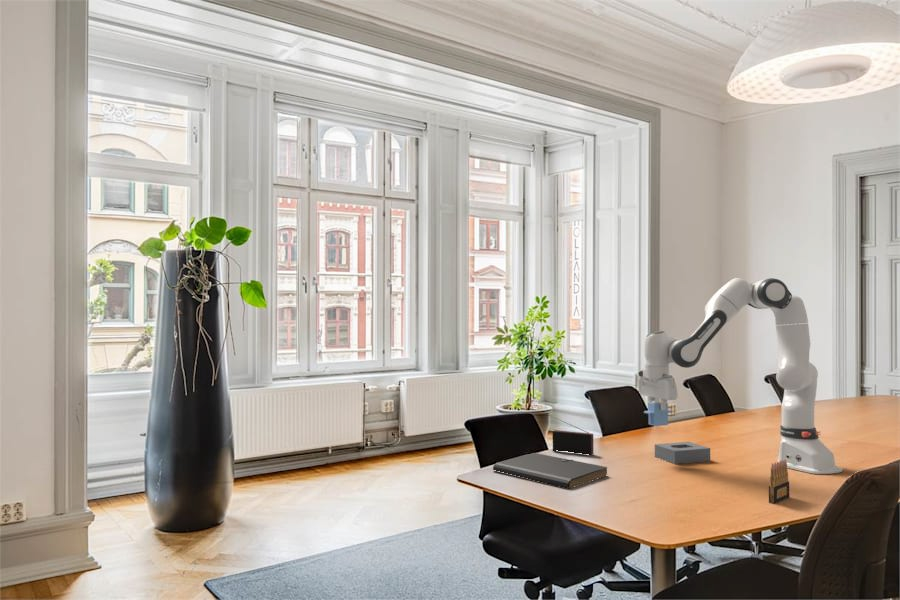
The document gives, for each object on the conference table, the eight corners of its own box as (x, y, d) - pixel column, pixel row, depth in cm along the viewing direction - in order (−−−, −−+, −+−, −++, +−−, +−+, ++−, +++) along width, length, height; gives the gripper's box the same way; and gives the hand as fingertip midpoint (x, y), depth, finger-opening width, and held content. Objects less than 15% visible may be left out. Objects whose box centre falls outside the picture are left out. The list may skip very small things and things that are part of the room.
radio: (593, 454, 270) (593, 417, 270) (591, 456, 267) (591, 418, 267) (550, 449, 279) (550, 414, 279) (548, 451, 276) (547, 415, 277)
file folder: (608, 465, 235) (567, 479, 219) (608, 477, 235) (567, 492, 219) (534, 451, 259) (492, 462, 242) (534, 462, 259) (493, 474, 242)
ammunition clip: (783, 496, 210) (783, 458, 210) (789, 497, 208) (789, 459, 208) (768, 502, 203) (768, 463, 203) (774, 504, 201) (774, 464, 201)
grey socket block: (710, 461, 257) (710, 448, 257) (674, 464, 252) (674, 451, 252) (688, 454, 269) (688, 441, 269) (654, 456, 265) (654, 444, 265)
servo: (676, 424, 257) (675, 400, 257) (650, 426, 253) (649, 402, 254) (670, 422, 261) (669, 399, 261) (644, 424, 257) (643, 401, 257)
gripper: (681, 375, 248) (682, 412, 248) (648, 371, 268) (649, 405, 268) (666, 375, 247) (667, 413, 246) (635, 371, 266) (636, 406, 266)
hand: (658, 409), depth 257 cm, fingers closed on servo, 4 cm apart
